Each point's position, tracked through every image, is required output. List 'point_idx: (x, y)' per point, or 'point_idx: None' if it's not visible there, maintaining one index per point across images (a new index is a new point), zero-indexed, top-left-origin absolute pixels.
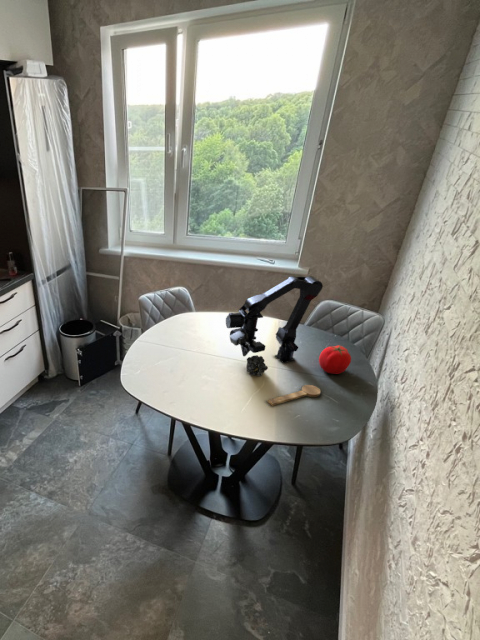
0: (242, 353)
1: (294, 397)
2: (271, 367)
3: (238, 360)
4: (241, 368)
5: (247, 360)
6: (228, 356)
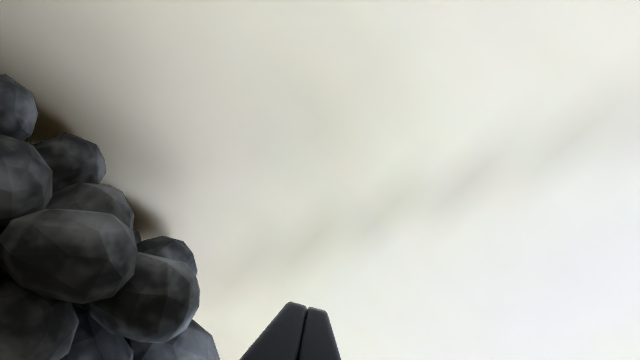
0: (328, 352)
1: None
2: None
3: (395, 204)
4: (155, 26)
5: (70, 217)
6: (634, 182)
